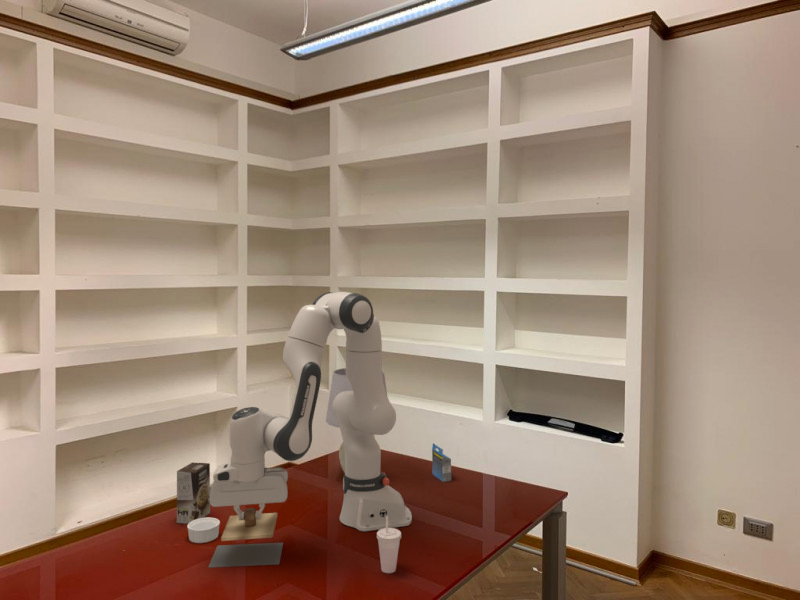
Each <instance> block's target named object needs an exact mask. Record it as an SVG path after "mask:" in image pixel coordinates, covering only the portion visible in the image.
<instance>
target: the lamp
mask: <svg viewBox="0 0 800 600" xmlns="http://www.w3.org/2000/svg"><path fill="white" fill-rule="evenodd" d="M382 378H383V383H384V387H385V391H386V394H387V395H388V392H387V391H388V390H387V385H386V378H385V371H384V370H383V369H382ZM344 391H353V389H352V386H351V384H350V382H349V380H348V378H347V376H346V367H344V368H337V369H335V370H333V371H332V377H331V384H330V391H329V397H328V405H327V411H326V418H325V421H326V424H328V425H330V426H332V427H335V428H339V429H340V427H339V423H338V421H337V419H336V417H335V416H334V414H333V411H332V404H333V401H334V399H335V397H336V396H337V395H338V394H339V393H341V392H344ZM338 458H339V462H340V466H341V469H342V471H343V474H344V473H345V449H344V443H343V441H342V443H341V445H340V446H339V449H338Z"/></svg>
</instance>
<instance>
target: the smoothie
mask: <svg viewBox="0 0 800 600" xmlns="http://www.w3.org/2000/svg"><path fill="white" fill-rule="evenodd" d="M376 538H377V542H378V551H379V558H380V560H379V561H380V569H381V572H382V573H384V574H385V573H386V574H392V573H394V572H396V570H397V563H398V556H399V555H398V554H399V548H400V541H401V539H402V532H401V531H400V530H399V529H398V528H396V527H394V528H388V516H386V528H383V529H378V531H377V532H376Z"/></svg>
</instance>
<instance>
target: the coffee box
mask: <svg viewBox="0 0 800 600" xmlns="http://www.w3.org/2000/svg"><path fill="white" fill-rule="evenodd" d="M210 465H211V464H210V463H207V462H190V463H188V464H187V465H185V466H184V467H182V468H180V469H178V470H177V471H176V523H178V524H185V525H186V524H189V523H190V522H191V521H193V520H196V519H199V518H206V517H207V516H208V515H209V514H210V513H211V504H210V489H211V471H210V469H211V466H210Z"/></svg>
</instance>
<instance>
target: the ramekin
mask: <svg viewBox="0 0 800 600" xmlns="http://www.w3.org/2000/svg"><path fill="white" fill-rule="evenodd" d="M220 525H221V521H220V520H219V519H218V518H215V517H207V516H206V517H204V518H199V519H196V520H193V521H191V522H190V523H187V525H186V526H187V532H188V539H189V542H191V543H195V544H203V543H209V542H212V541H214V540H216V539H217V538H218V537H219V534H220V532H219V530H220Z"/></svg>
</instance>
